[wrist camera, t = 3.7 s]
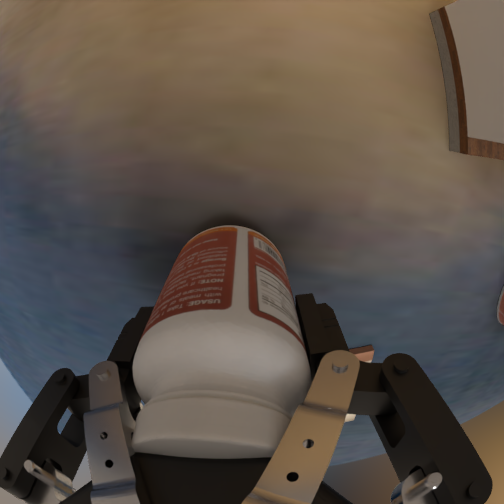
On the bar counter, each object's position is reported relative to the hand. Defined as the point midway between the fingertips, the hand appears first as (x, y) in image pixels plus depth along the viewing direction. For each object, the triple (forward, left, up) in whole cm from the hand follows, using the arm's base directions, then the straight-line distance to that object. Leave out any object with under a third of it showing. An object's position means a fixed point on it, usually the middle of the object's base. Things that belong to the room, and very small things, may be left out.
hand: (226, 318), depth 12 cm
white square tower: (-12, +21, -6) cm, 25 cm away
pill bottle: (0, 0, -4) cm, 4 cm away
